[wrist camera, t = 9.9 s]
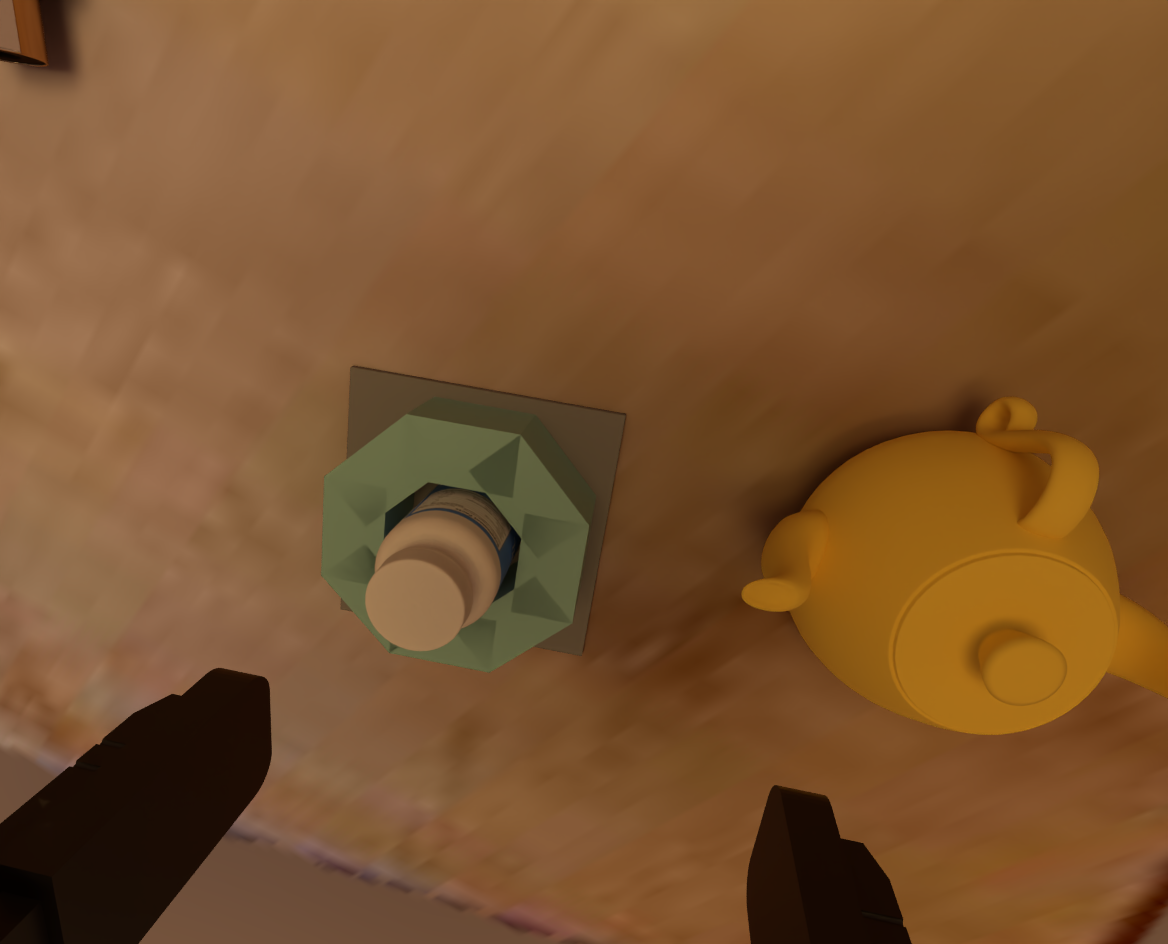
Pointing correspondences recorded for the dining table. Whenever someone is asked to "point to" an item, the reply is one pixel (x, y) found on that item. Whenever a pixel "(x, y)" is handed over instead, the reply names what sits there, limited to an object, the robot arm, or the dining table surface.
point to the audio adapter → (22, 33)
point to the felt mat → (573, 427)
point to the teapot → (963, 578)
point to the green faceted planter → (480, 463)
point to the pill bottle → (440, 568)
